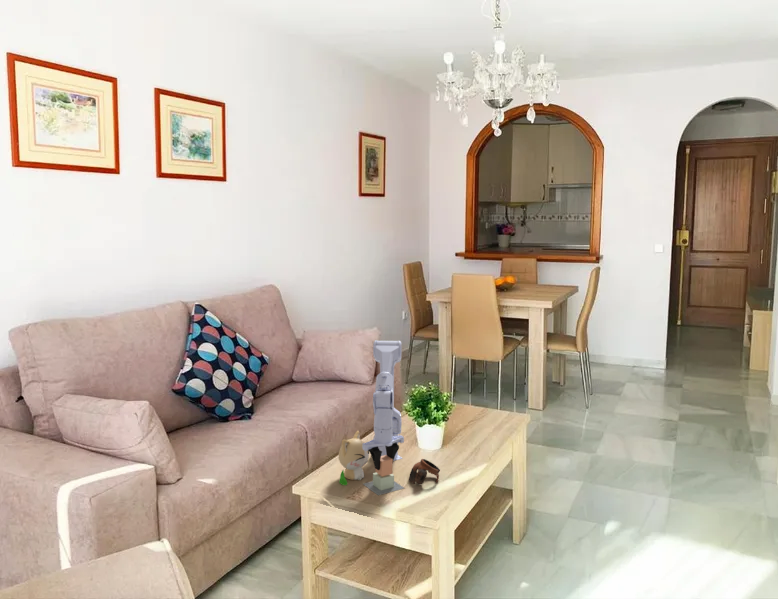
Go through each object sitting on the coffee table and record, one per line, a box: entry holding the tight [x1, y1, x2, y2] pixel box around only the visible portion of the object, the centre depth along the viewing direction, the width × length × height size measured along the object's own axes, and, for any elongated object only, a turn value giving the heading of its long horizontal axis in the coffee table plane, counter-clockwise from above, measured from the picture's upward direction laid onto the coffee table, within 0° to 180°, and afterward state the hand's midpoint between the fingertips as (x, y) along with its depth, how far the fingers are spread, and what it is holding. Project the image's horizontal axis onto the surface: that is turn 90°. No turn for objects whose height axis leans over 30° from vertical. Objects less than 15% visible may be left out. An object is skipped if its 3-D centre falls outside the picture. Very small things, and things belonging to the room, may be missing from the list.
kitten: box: [338, 430, 370, 486], centre depth 217 cm, size 15×10×15 cm
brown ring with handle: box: [408, 458, 441, 485], centre depth 214 cm, size 12×10×8 cm
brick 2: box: [372, 472, 395, 490], centre depth 211 cm, size 5×5×4 cm
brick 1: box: [375, 455, 394, 476], centre depth 210 cm, size 4×4×5 cm
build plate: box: [362, 480, 405, 496], centre depth 211 cm, size 10×10×1 cm
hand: (383, 467), depth 210 cm, fingers closed on brick 1, 4 cm apart
